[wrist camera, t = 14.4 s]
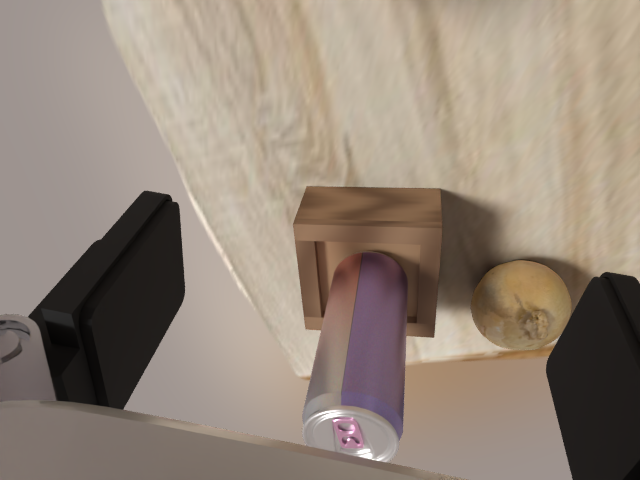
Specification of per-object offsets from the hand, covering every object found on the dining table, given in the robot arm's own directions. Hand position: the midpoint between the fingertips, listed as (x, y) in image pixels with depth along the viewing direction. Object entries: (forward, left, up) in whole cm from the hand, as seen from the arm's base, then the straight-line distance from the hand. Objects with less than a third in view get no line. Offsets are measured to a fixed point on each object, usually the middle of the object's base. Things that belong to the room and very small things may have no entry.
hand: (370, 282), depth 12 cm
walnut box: (-1, +19, -28) cm, 34 cm away
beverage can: (-1, +19, -24) cm, 30 cm away
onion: (-14, +21, -29) cm, 38 cm away
